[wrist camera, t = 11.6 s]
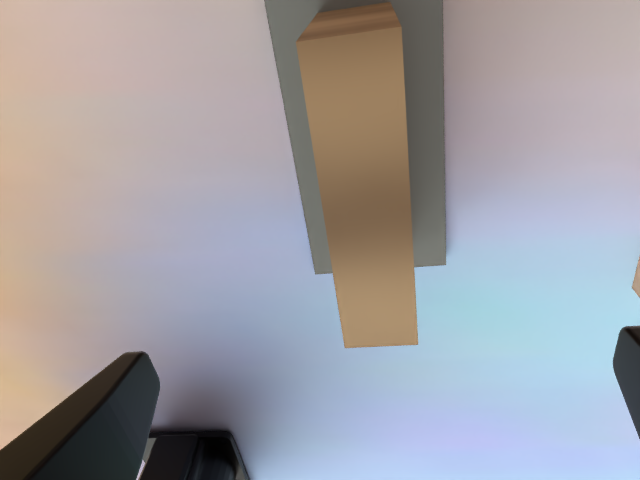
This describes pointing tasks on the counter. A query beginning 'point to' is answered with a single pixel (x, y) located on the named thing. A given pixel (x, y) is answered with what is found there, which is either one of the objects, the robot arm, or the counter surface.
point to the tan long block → (363, 168)
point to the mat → (421, 116)
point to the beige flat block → (637, 280)
